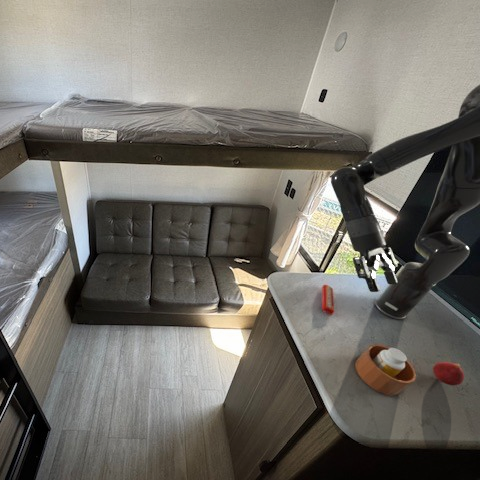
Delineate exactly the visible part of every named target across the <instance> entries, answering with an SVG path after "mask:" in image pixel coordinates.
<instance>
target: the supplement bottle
mask: <svg viewBox="0 0 480 480" xmlns="http://www.w3.org/2000/svg"><path fill="white" fill-rule="evenodd" d="M406 360H407V361H408V358H407V356H406V354H405V353H404V352H402V350H400V349H398V348H395V347H389V349H388V350H382V351H381V352H380V353H379V354H378V355H377V356H376V357H375V358H374V359H373V360H372V361H373V362H374V364H375V365H376V366H377V367H378V368H379V369H380V370H381V371H383V372H384V373H385V374H387V375H389V376H390V377H392V378H394V377H395V376H396V375H397V374H398V373H399V372H400V371H401V370H403V369H404V368H405V361H406Z"/></svg>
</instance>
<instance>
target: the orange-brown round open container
mask: <svg viewBox="0 0 480 480" xmlns="http://www.w3.org/2000/svg"><path fill="white" fill-rule="evenodd" d="M389 348H390V347H388V346H387V345H383V344H378V343H377V344H375V343H374V344H369V346H368V347H367V348H366V350H364V352H363V353H362V354H360V356H359V357H358V358H357V360H355V364H354V365H355V370H356V373H357V374H358V376H359V377H360V378H361V380H362V381H363V382H364V383H365V384H366V385H368V386H369V387H370V388H372V389H374V391H376V392H378V393H380V394H383V395H386V396H396V395H398V394H400V393H401V392H402V391H404V390H405V389H406V388H408V387H409V386H410V385H411V384H412V383H414V382H415V380H416V379H417V375H416V370H415V369H414V367H413V365H412V364H411V363H410V362H409V360H408V359H407V360H406V361H405V368H404V369H403V370H401V371H400V372H399V373H398V374H397V375H396V376H395V377H394V378H392V377H390V376H389V375H387V374H385V373H384V372H383V371H381V370H380V369H379V368H378V367H377V366H376V365H375V364H374V362H373V361H372V360H373V359H374V358H375V357H376V356H377V355H378V354H379V353H380V352H381V351H382V350H388V349H389Z"/></svg>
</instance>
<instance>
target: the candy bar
mask: <svg viewBox="0 0 480 480" xmlns="http://www.w3.org/2000/svg"><path fill="white" fill-rule="evenodd" d="M334 300H335V299H334V289H333V287H331V286H329V285H327V284H323V285H322V287H321V310H322V311H323V312H325V314H326V313H327V314H328V315H330V316H333V314H334V312H335V301H334Z"/></svg>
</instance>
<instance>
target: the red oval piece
mask: <svg viewBox="0 0 480 480" xmlns="http://www.w3.org/2000/svg"><path fill="white" fill-rule="evenodd" d="M432 371H433V372H432V373H433V375H434V377H435V378H436V380H438V381H439V382H441V383H443V384H446V385H448V386H459V385H461V384H462V383H463V382H464V380H465V372H464V371H463V369H462V368H461V365H460V364H459V362H458V363H453V362H449V361H440V362H437V363H435V364H434V366H433V367H432Z"/></svg>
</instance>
